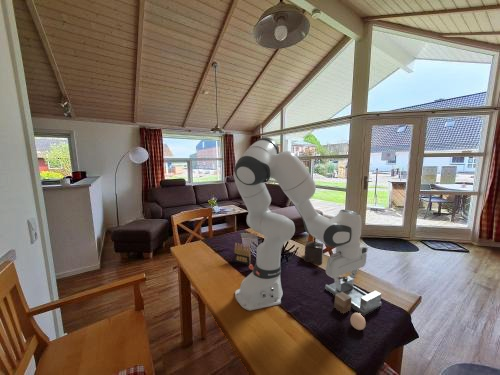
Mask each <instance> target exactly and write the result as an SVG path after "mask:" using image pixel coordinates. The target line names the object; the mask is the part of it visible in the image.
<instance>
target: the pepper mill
mask: <svg viewBox="0 0 500 375" xmlns="http://www.w3.org/2000/svg"><path fill="white" fill-rule="evenodd" d="M316 240H317V239H316V238H315V237H313V241H310V240H309V241H308V240H306V243H305V245H304V246H305V247H304V260H303V261H304V262H305V263H306V262H307V263H310V262H311V264H315V265H316V264H317V265H322V264H323V258H324V257H323V254H324V253H323V251H324V243H322V242H321V243H320V242H318V241H316Z"/></svg>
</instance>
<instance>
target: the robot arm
mask: <svg viewBox="0 0 500 375" xmlns="http://www.w3.org/2000/svg"><path fill="white" fill-rule="evenodd" d="M233 179H234V183H235V186H236V188H237V191H238V193H239V195H240V197H241V199H242V202H243V203H244V205H245V207H246V209H247V213H248V214H247V215H246V220H245V221H246V225H247V226H248V227H249V228H251V229H252V230H253V231H254V232H255V233H259V234H260V235H263V237H264V240H263V242H261V243H260V244H258V246H257V247H256V258H255V259H256V260H255V261H256V262H255V264H254V265H253V264H252V263H251V264H250V265H248V269H249V270H250V271H252V272H250V273H249V274H248V275H247V276H246V277H245V278H244V279H242V281H241V283H240V286H239V287H240V288H238V289H236V290H235V292H234V293H235V294H234V297H235V300H236V302H237V303H238V304H239V305H240V306H241V307H242V308H243V309H245V310H247V311H254V310H259V309H264V308H269V307H273V306H277V305H281V304H282V300H281V299H282V297H283V295H284V294H283V292H284V291H283V288H282V282H281V273H282V264H281V258H282V257H281V254H282V249H283V246H284V245H285V244H286V243H287V242H288V241H290V240H291V239H292V238H293V236H294V235H295V232H296V227H295V223H294V221H293V220H292V219H290V218H289V217H287V216H285V215H283V214H279V213H277V212H274V211H272V210H270V205H271V202H272V197H271V194H270V192H269V189H268V188H267V185H266V183H268V182H269V181H270V179H273V180H275V181H276V183H277V184H278V186H279V187H280V188H281V190H282V192H283V193H284V195H286V197H287V198H288V199H289V200H290V201H291V203H293V206H294V207H295V209H296V210H297V212H298V213H299V215H300V217H301V219H302V221H303V222H302V223H303V227H304V231H305V232H306V233H307V234H308V235H309V236H311V237H313V238H314V237H315V238H316V239H315V240H318V241H319V242H321V243H322V244H323V245H326V246H327V247H330V248H335V253H331V254H330V256H329V257H328V259H327V260H326V265H325V273H326V275H327V276H328V277H330V278H332V279H333V280H334V281H333V283H335V284H336V285H340V282H341V281H340V277H341V276H343V275H346V274H348V273H349V276H350V277H351V278H352V279H354V280H355V279H356V278H357V274H358V272H359V269H361V268H363V267H364V266H366V264H367V253H368V249H369V248H368V247H367V246H365V245H363V244H361V240H360V239H361V236H362V224H363V223H362V216H361V215H360V214H359V213H358V212H356V211H354V210H349V209H340V210H339V212H338V213H337V214H336V215H335V216H334V217H331V218H329V217H326V216H324V215H322V214H321V213H319V212H317V211H316V209H315V207H314V206H313V204H312V202H311V199H312V197H313V196H314V194H315V192H316V188H317V186H316V182H315V181H314V178H313V177H312V175H311V173H310V172H309V170H308V168H307V167H306V166H305V164H304V163H303V162H302V160H300V158H299V157H298V156H296V154H294V152H292V151H289V150H286V151H285V150H284V151H281V152H280V147H279V144H278V143H277V141H276V140H275V139H273V138H272V137H268V136H267V137H266V136H264V137H261V138H258V139H257V140H255V141H254V142H253V143H252V144H251V145H250V146H249V147H248V148H247V149H246V150H245V151H244V153H243V154H242V155H241V157H239V159H238V160H237V162H236V163H235V165H234V172H233Z"/></svg>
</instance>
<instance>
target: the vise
mask: <svg viewBox="0 0 500 375" xmlns="http://www.w3.org/2000/svg"><path fill="white" fill-rule="evenodd" d="M325 289H326V290H325ZM324 290H325V291H327V292H328V291H329V292H330V293H329V292H328V293H329V294H331V293H332V294H333V295H332V294H331V295H332V296H334V295H336V294H338V293H339V292H337V291H336V284H335V283H334V282H333V283H331V284H325V286H324ZM344 293H345V294H347V295H348V296H350V297H351V307H352V308H353V309H355V310H356V311H358V312H359V313H360V314H362V315H363V316H364V315H366V314H368V313H369V312H371V311H373V310H374V309H376V308H377V307H379V306H381V307H382V301H381V299H382V293H381V292H379V291H377V290H374V291H371V292H370V293H367V292H365V291H363V290H361V289H360V288H359V287H357V286H355V285H353V289H350V290H348V291H346V292H344ZM352 308H351V309H352ZM353 309H352V310H353ZM355 310H354V311H355ZM356 311H355V312H356ZM358 312H357V313H358ZM373 312H374V311H373ZM371 313H372V312H371ZM369 314H370V313H369ZM369 314H368V315H369ZM366 316H367V315H366ZM364 317H365V316H364Z"/></svg>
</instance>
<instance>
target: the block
mask: <svg viewBox="0 0 500 375" xmlns="http://www.w3.org/2000/svg"><path fill="white" fill-rule="evenodd" d="M333 308H334V309H335V308H336V309H335V310H337V311H338V312H339V311H340V312H339V313H341V314H342V313H343V314H342V315H345V314H347V313H349V312H351V309H352V308H351V297H350V296H348V295H347V294H345V293H344V292H340V293H338V294H336V295H335V296H334V305H333ZM348 311H349V312H348ZM346 312H347V313H346ZM344 313H345V314H344Z"/></svg>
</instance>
